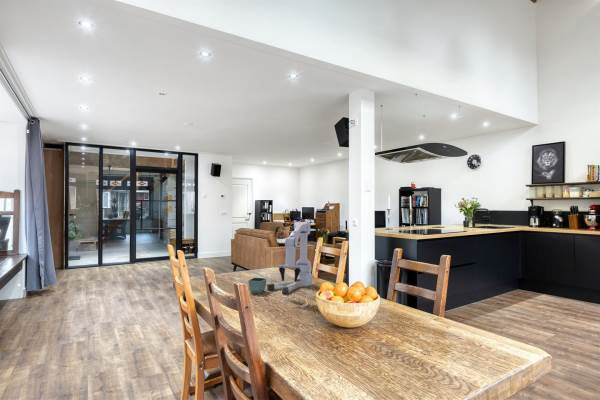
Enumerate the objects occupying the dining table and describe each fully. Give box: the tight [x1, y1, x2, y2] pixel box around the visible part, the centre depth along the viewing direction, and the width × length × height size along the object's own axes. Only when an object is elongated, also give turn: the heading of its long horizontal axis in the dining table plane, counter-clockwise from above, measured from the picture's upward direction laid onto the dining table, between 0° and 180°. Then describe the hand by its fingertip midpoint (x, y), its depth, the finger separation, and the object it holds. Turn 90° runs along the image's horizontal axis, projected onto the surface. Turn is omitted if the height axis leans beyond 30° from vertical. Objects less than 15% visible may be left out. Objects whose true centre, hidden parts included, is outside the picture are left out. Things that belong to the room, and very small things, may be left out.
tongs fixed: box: [266, 278, 304, 292], centre depth 217 cm, size 24×5×5 cm, turn 124°
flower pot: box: [248, 277, 267, 294], centre depth 208 cm, size 9×9×9 cm
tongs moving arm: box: [281, 281, 299, 295], centre depth 211 cm, size 18×2×4 cm, turn 156°
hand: (289, 281), depth 196 cm, fingers open, 7 cm apart
